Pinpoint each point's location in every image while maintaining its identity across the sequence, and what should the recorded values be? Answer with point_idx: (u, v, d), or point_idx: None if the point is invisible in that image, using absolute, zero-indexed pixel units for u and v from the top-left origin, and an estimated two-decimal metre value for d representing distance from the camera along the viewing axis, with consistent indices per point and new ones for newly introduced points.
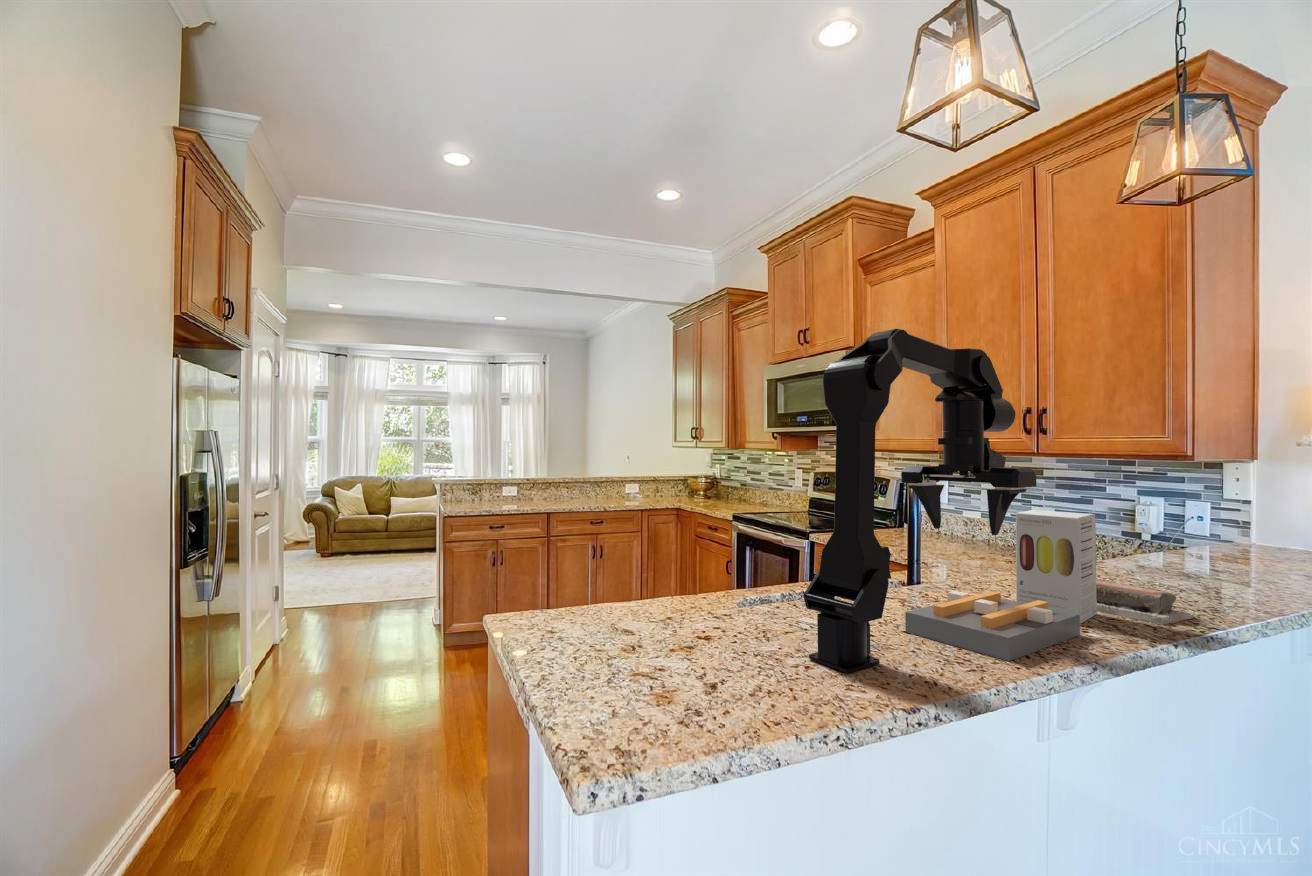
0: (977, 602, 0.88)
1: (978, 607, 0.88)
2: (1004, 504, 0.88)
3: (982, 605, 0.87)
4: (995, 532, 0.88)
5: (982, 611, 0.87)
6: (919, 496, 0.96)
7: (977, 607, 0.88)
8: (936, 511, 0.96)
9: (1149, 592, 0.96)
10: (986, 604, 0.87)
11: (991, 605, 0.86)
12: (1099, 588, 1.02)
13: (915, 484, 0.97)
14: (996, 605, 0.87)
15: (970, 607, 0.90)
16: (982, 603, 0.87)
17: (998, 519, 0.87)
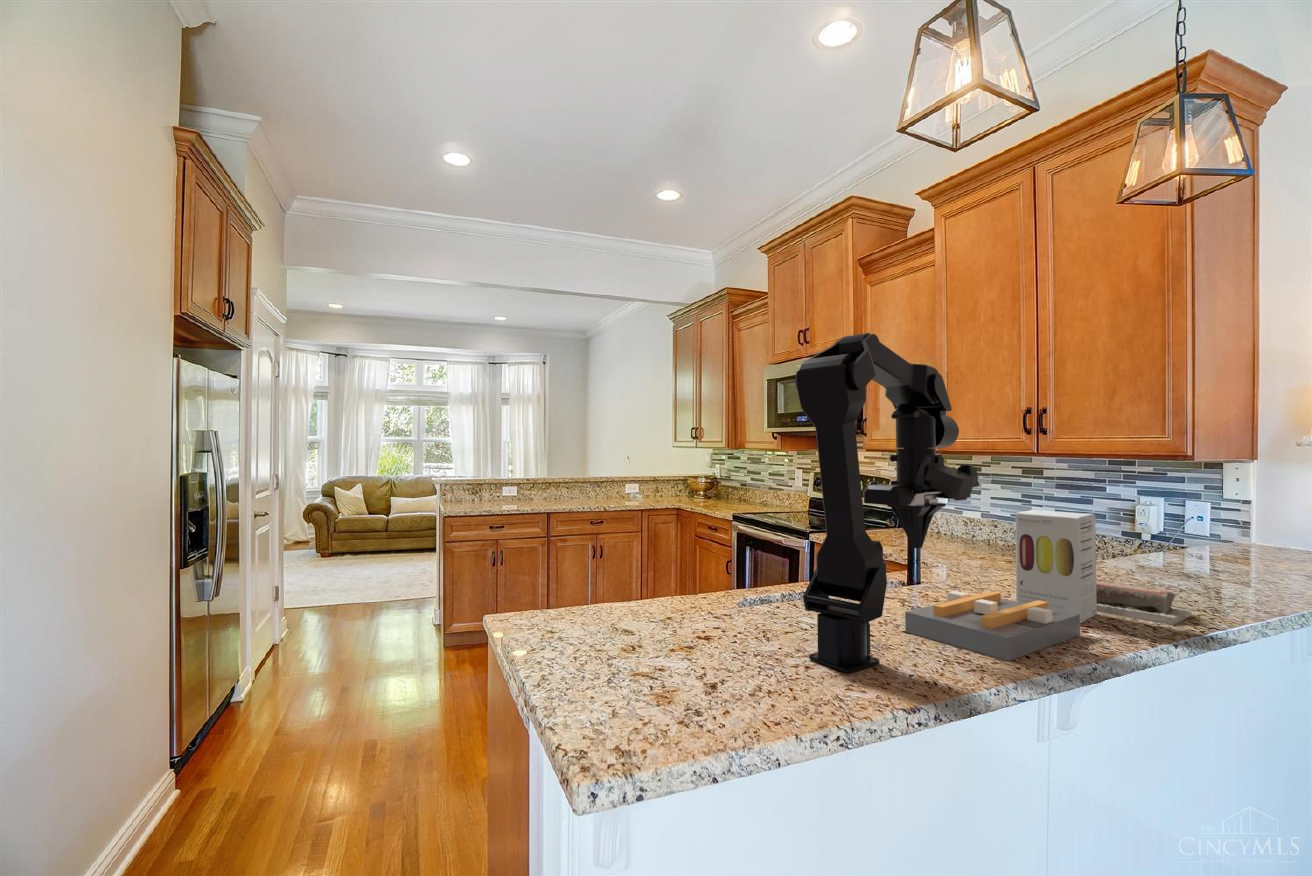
0: (977, 602, 0.88)
1: (978, 607, 0.88)
2: (914, 519, 0.92)
3: (982, 605, 0.87)
4: (913, 545, 0.93)
5: (982, 611, 0.87)
6: None
7: (977, 607, 0.88)
8: None
9: (1155, 592, 0.96)
10: (986, 604, 0.87)
11: (991, 605, 0.86)
12: (1103, 589, 1.01)
13: None
14: (996, 605, 0.87)
15: (970, 607, 0.90)
16: (982, 603, 0.87)
17: (908, 532, 0.93)
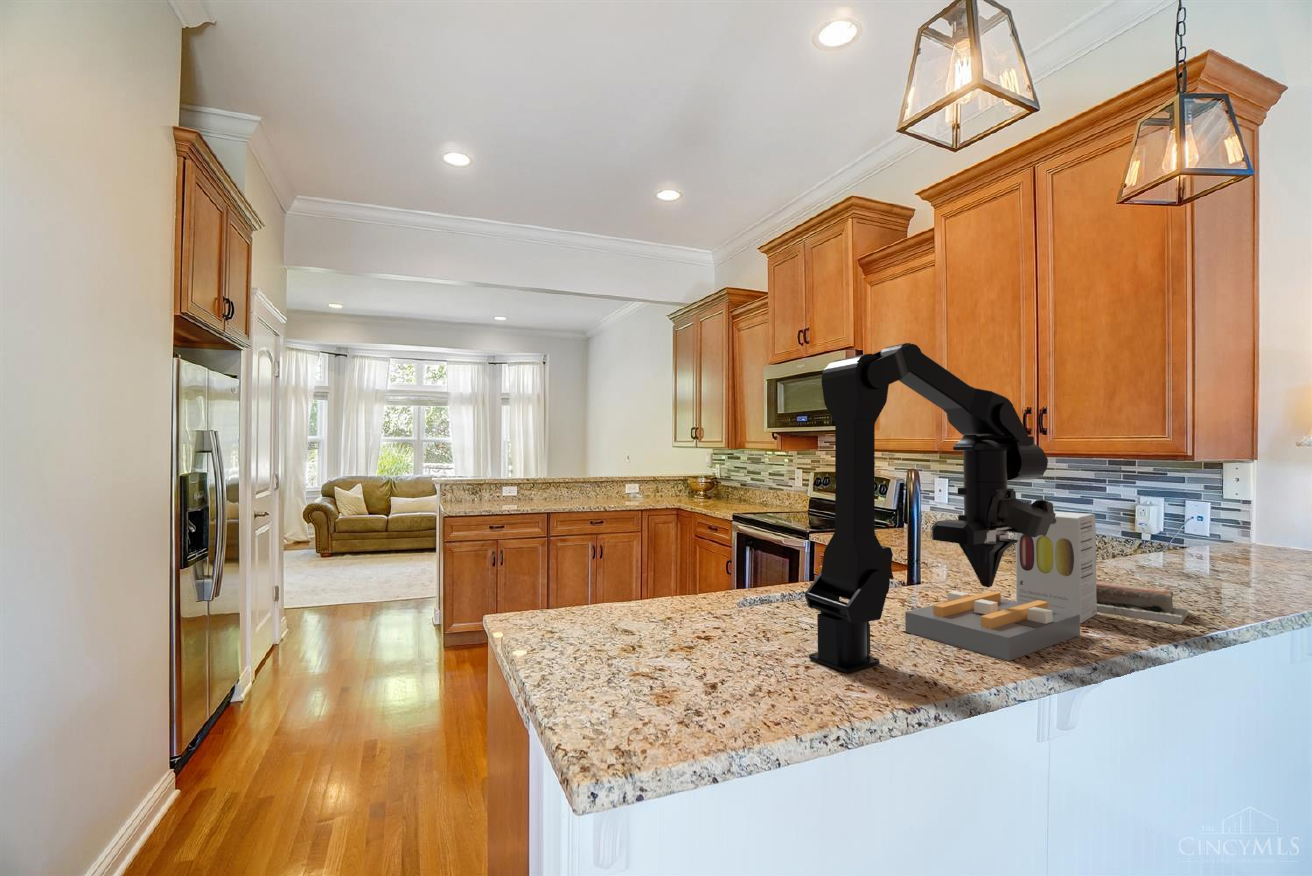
0: (977, 602, 0.88)
1: (978, 607, 0.88)
2: (984, 556, 0.87)
3: (982, 605, 0.87)
4: (982, 583, 0.88)
5: (982, 611, 0.87)
6: None
7: (977, 607, 0.88)
8: None
9: (1159, 591, 0.96)
10: (986, 604, 0.87)
11: (991, 605, 0.86)
12: (1106, 590, 1.01)
13: None
14: (996, 605, 0.87)
15: (970, 607, 0.90)
16: (982, 603, 0.87)
17: (977, 569, 0.88)
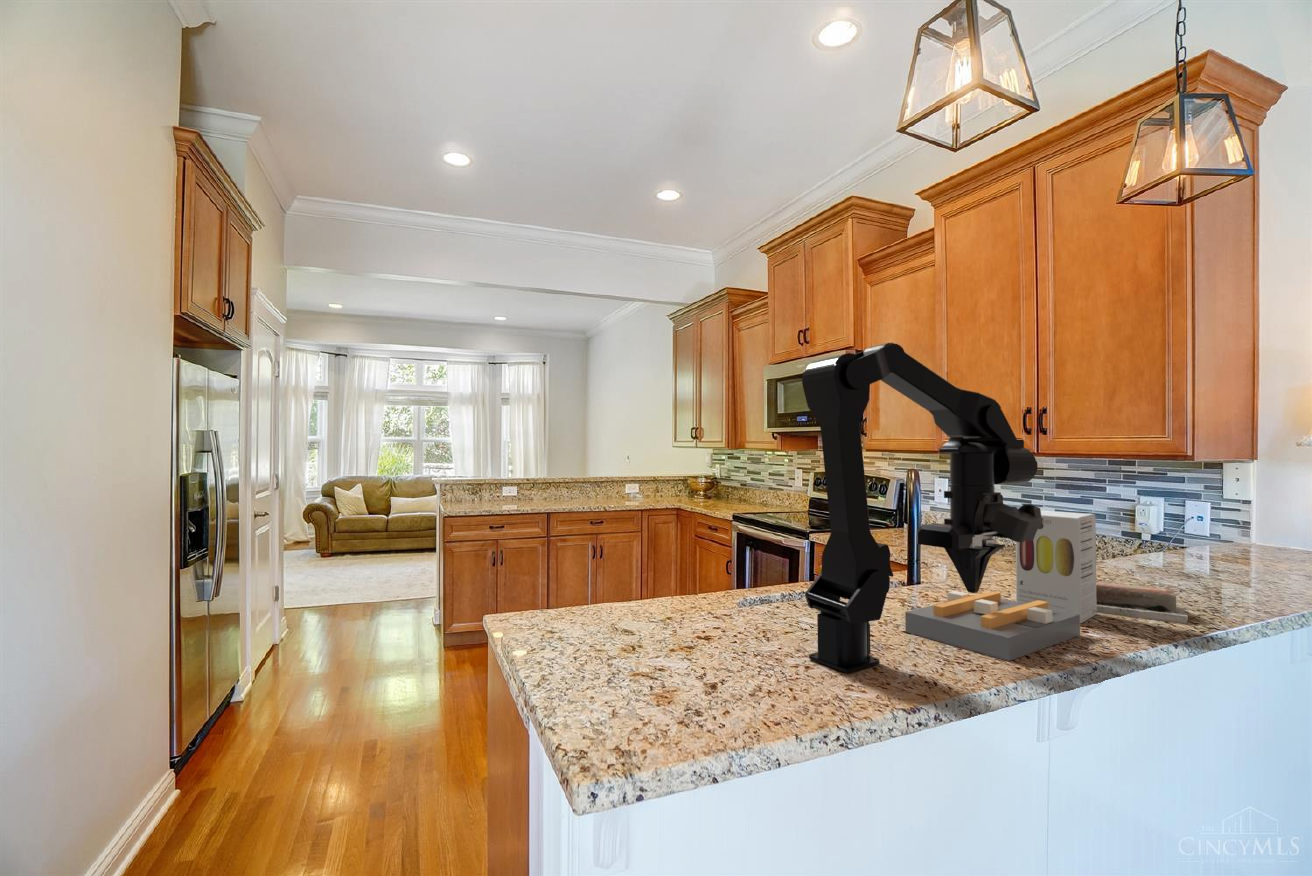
0: (977, 602, 0.88)
1: (978, 607, 0.88)
2: (970, 562, 0.85)
3: (982, 605, 0.87)
4: (968, 589, 0.86)
5: (982, 611, 0.87)
6: None
7: (977, 607, 0.88)
8: None
9: (1162, 591, 0.97)
10: (986, 604, 0.87)
11: (991, 605, 0.86)
12: (1109, 590, 1.00)
13: None
14: (996, 605, 0.87)
15: (970, 607, 0.90)
16: (982, 603, 0.87)
17: (963, 575, 0.86)
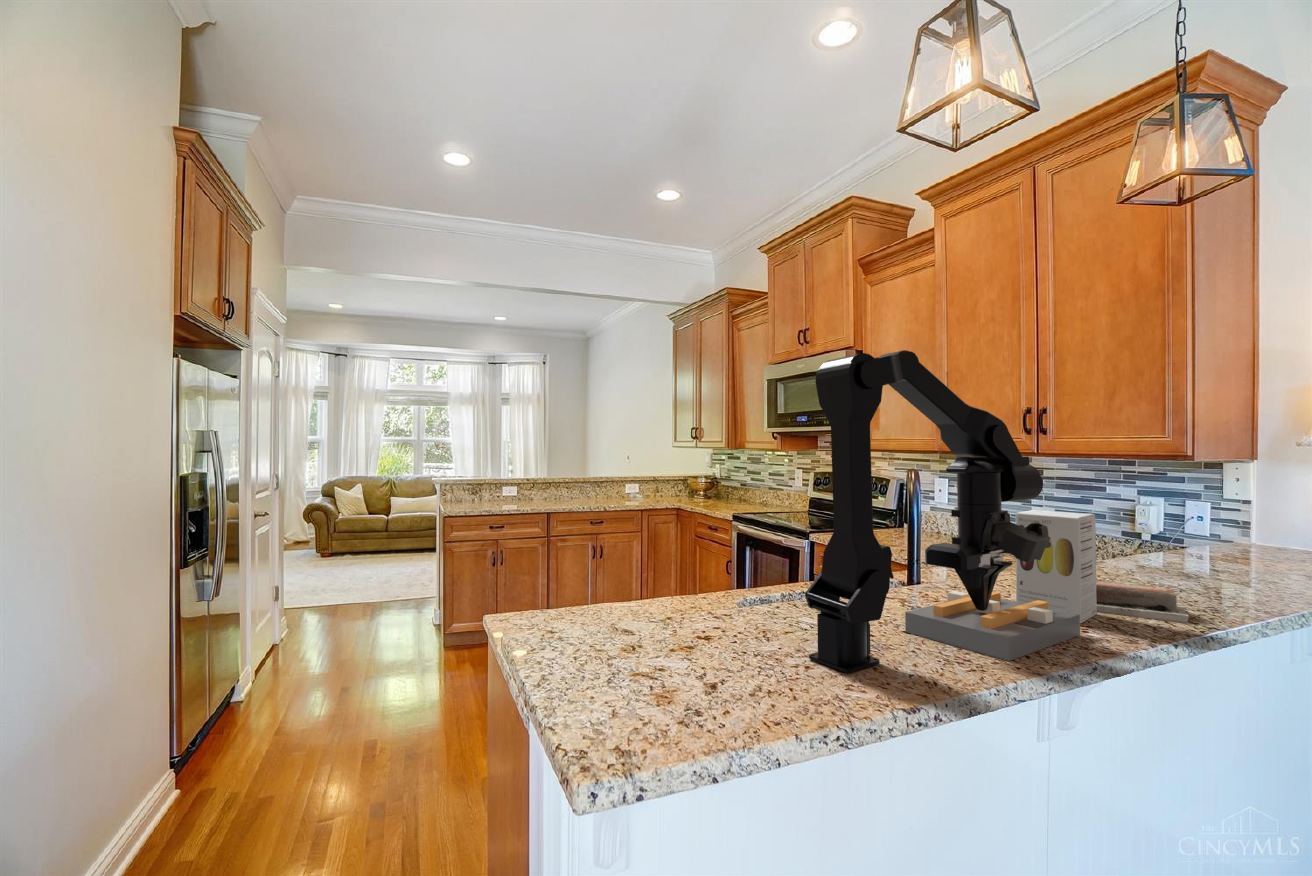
0: None
1: None
2: (978, 580, 0.86)
3: None
4: (977, 606, 0.87)
5: (984, 610, 0.87)
6: None
7: None
8: None
9: (1162, 590, 0.97)
10: (988, 603, 0.87)
11: (993, 604, 0.87)
12: (1110, 590, 1.00)
13: None
14: (998, 604, 0.87)
15: (970, 607, 0.90)
16: None
17: (972, 593, 0.87)
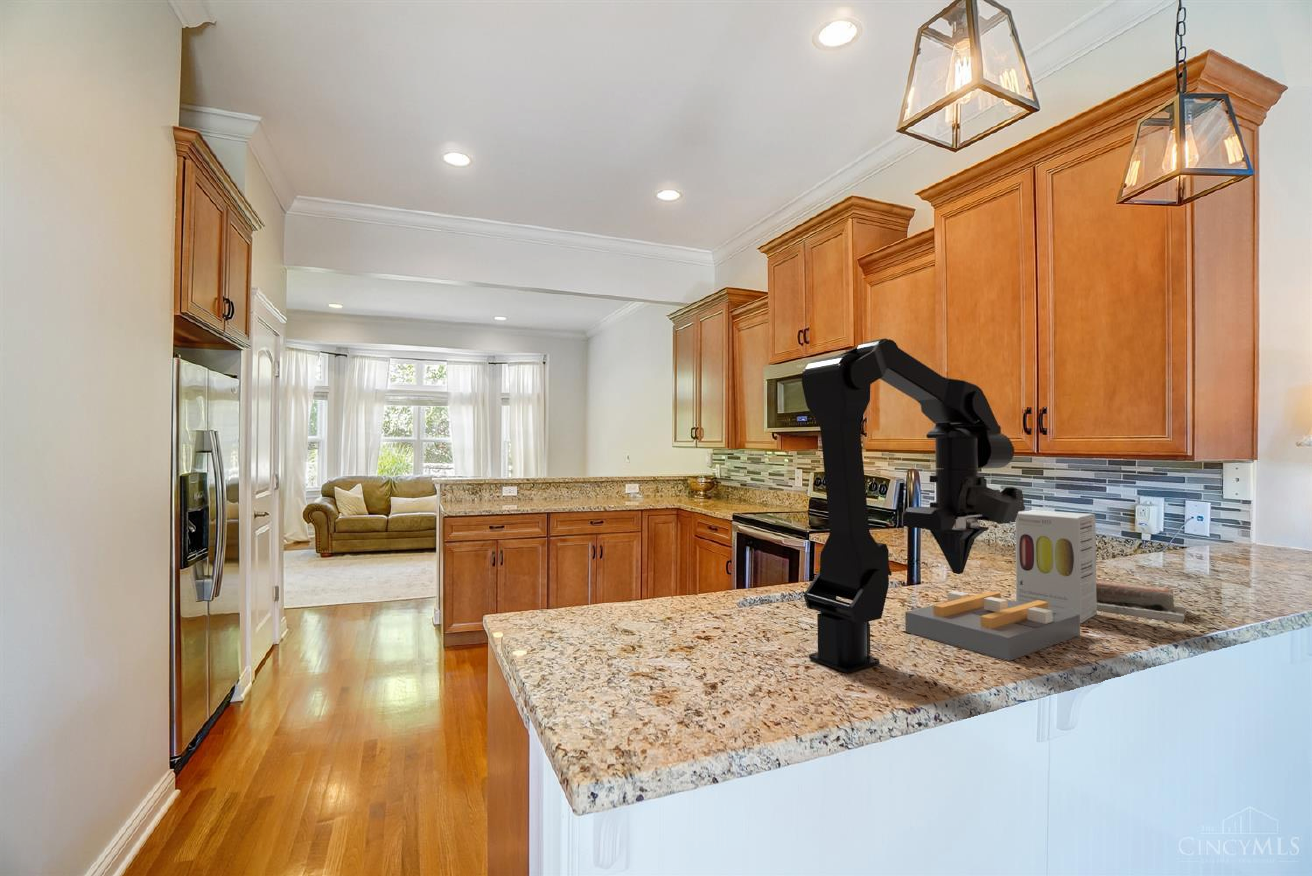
0: (987, 599, 0.89)
1: (988, 604, 0.89)
2: (955, 543, 0.88)
3: (992, 602, 0.89)
4: (953, 570, 0.89)
5: (992, 608, 0.89)
6: None
7: (987, 604, 0.89)
8: None
9: (1160, 590, 0.97)
10: (996, 601, 0.88)
11: (1001, 602, 0.88)
12: (1107, 589, 1.01)
13: None
14: (1006, 602, 0.88)
15: (970, 607, 0.90)
16: (992, 600, 0.89)
17: (948, 556, 0.89)
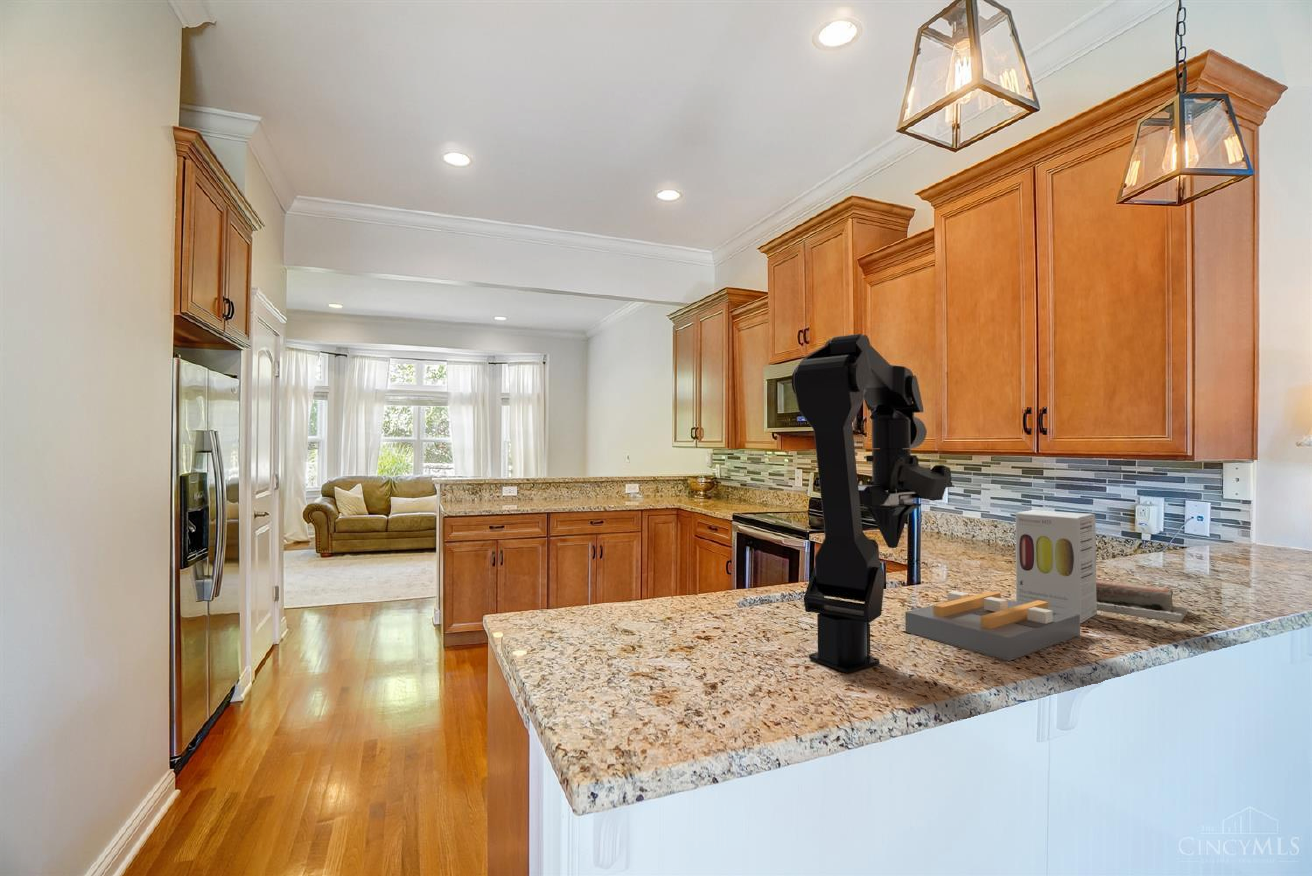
0: (987, 599, 0.89)
1: (988, 604, 0.89)
2: (889, 519, 0.93)
3: (992, 602, 0.89)
4: (888, 544, 0.94)
5: (992, 608, 0.89)
6: None
7: (987, 604, 0.89)
8: None
9: (1159, 590, 0.97)
10: (996, 601, 0.88)
11: (1001, 602, 0.88)
12: (1106, 588, 1.02)
13: None
14: (1006, 602, 0.88)
15: (970, 607, 0.90)
16: (992, 600, 0.89)
17: (884, 531, 0.94)
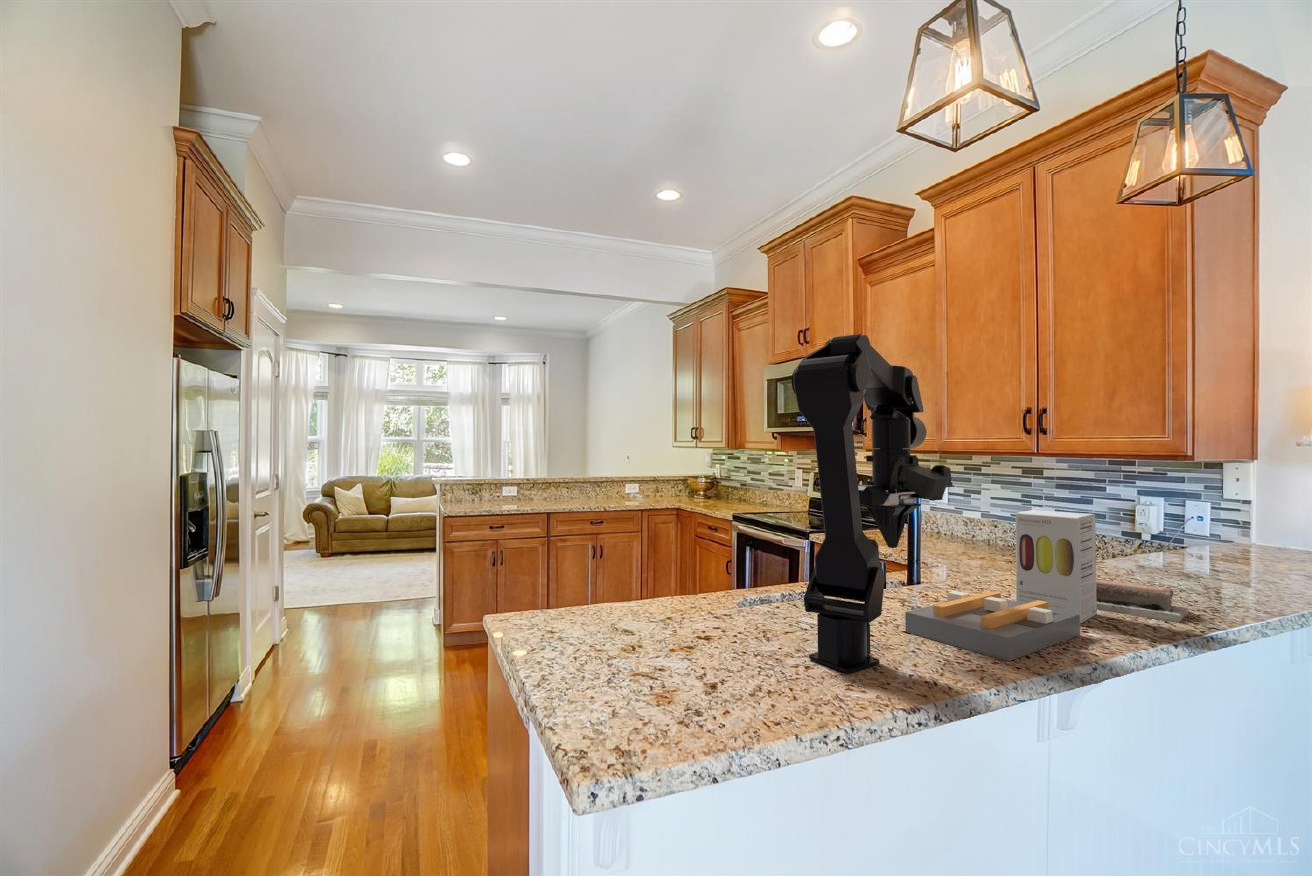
0: (987, 599, 0.89)
1: (988, 604, 0.89)
2: (889, 519, 0.93)
3: (992, 602, 0.89)
4: (888, 544, 0.94)
5: (992, 608, 0.89)
6: None
7: (987, 604, 0.89)
8: None
9: (1158, 590, 0.97)
10: (996, 601, 0.88)
11: (1001, 602, 0.88)
12: (1105, 588, 1.02)
13: None
14: (1006, 602, 0.88)
15: (970, 607, 0.90)
16: (992, 600, 0.89)
17: (884, 531, 0.94)
